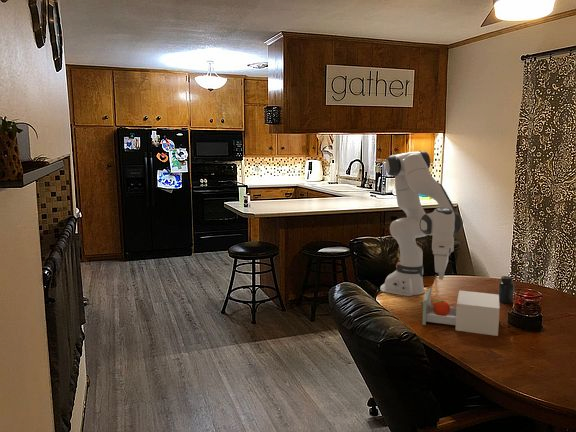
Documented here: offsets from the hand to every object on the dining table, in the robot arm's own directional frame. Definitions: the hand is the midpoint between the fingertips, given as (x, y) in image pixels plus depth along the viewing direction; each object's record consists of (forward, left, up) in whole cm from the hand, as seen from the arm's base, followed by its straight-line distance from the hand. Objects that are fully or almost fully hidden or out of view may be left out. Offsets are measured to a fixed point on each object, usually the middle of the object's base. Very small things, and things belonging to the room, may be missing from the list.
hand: (441, 277), depth 201 cm
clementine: (0, 0, -18) cm, 18 cm away
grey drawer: (0, 0, -19) cm, 19 cm away
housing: (+15, 0, -19) cm, 24 cm away
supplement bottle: (+27, +36, -19) cm, 49 cm away
